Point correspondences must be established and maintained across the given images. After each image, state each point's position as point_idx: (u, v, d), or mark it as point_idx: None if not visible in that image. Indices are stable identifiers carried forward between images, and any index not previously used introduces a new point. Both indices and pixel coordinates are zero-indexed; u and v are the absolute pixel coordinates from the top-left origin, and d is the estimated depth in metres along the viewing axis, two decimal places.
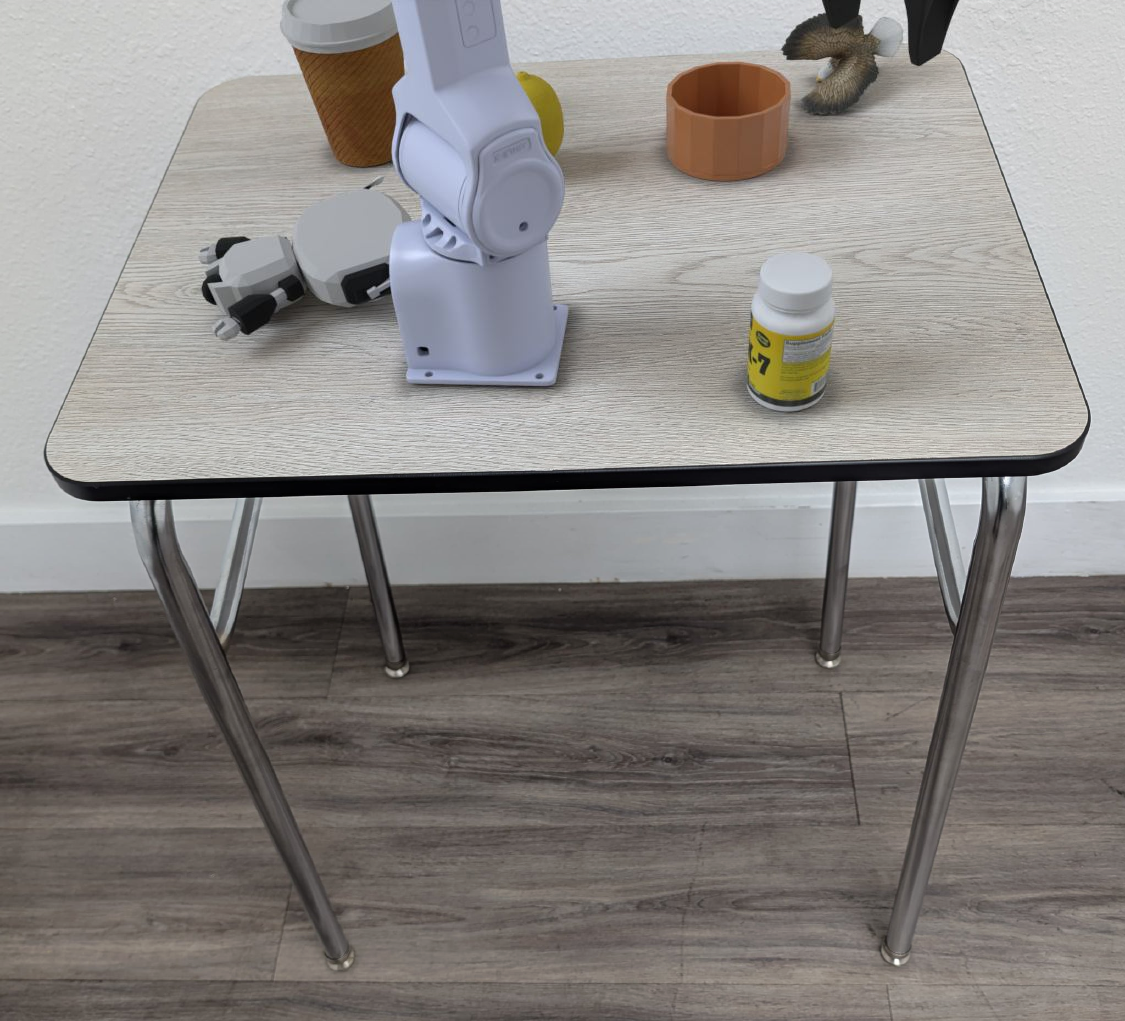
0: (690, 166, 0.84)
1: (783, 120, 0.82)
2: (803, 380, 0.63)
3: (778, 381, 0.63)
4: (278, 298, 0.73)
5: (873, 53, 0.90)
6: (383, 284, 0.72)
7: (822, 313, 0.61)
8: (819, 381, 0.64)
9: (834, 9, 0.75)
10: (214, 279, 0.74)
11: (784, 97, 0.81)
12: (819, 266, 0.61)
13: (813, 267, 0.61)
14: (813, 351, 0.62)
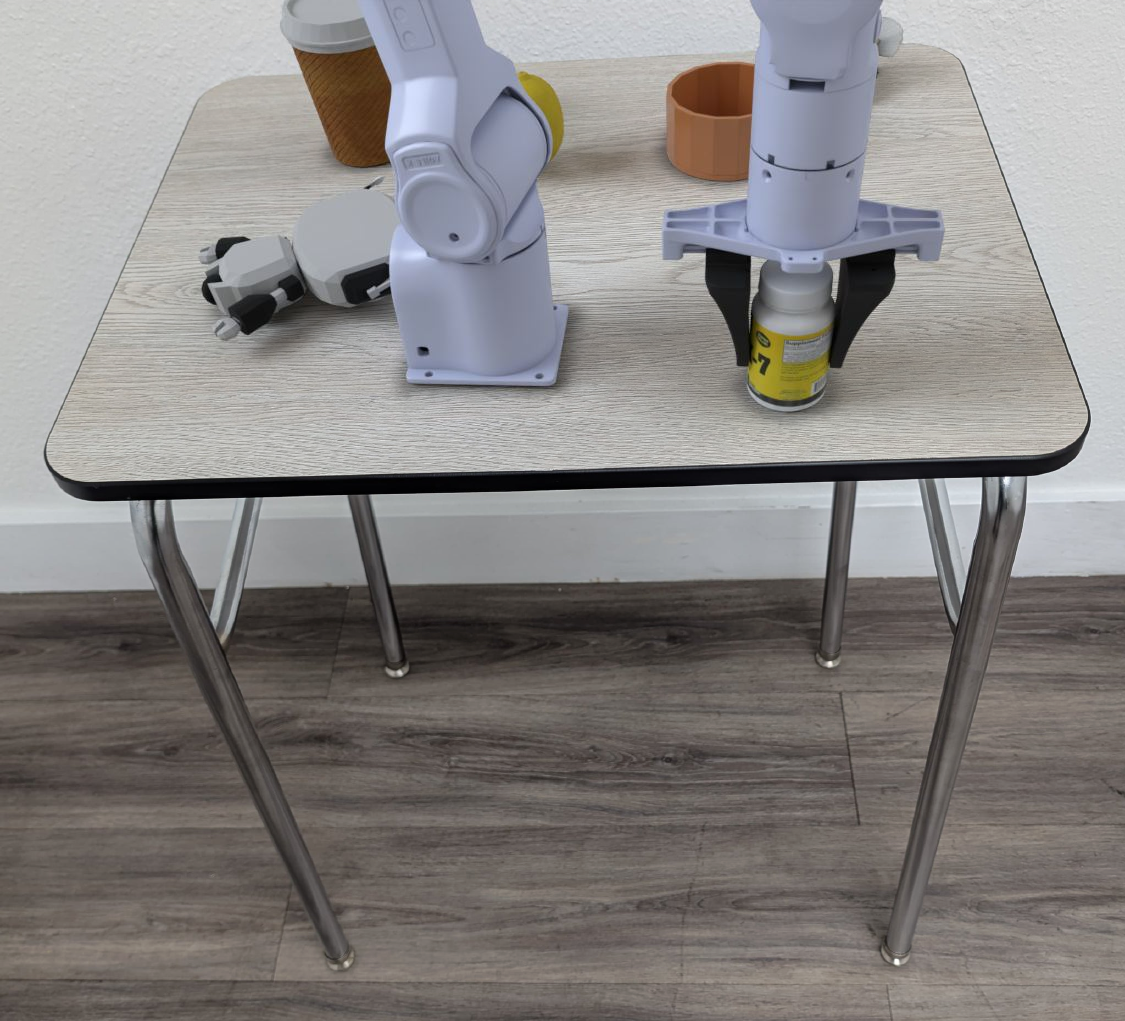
0: (690, 166, 0.84)
1: None
2: (803, 380, 0.63)
3: (778, 381, 0.63)
4: (278, 298, 0.73)
5: None
6: (383, 284, 0.72)
7: (822, 313, 0.61)
8: (820, 381, 0.64)
9: None
10: (214, 279, 0.74)
11: None
12: None
13: None
14: (813, 351, 0.62)
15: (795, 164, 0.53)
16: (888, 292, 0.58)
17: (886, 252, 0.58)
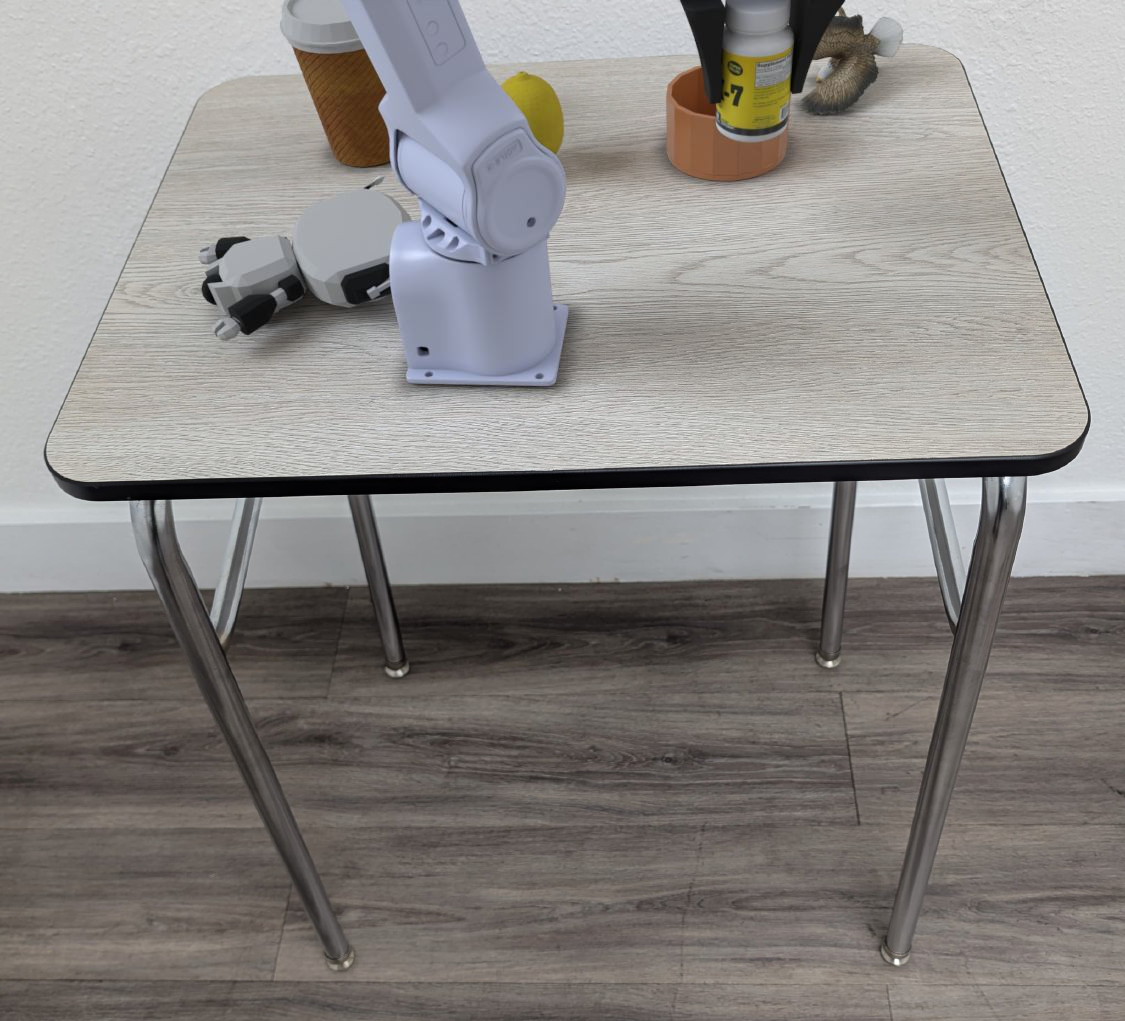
0: (690, 166, 0.84)
1: None
2: (773, 105, 0.70)
3: (751, 109, 0.70)
4: (278, 298, 0.73)
5: (873, 53, 0.90)
6: (383, 284, 0.72)
7: (785, 34, 0.68)
8: (785, 108, 0.71)
9: None
10: (214, 279, 0.74)
11: None
12: None
13: None
14: (780, 73, 0.69)
15: None
16: None
17: None
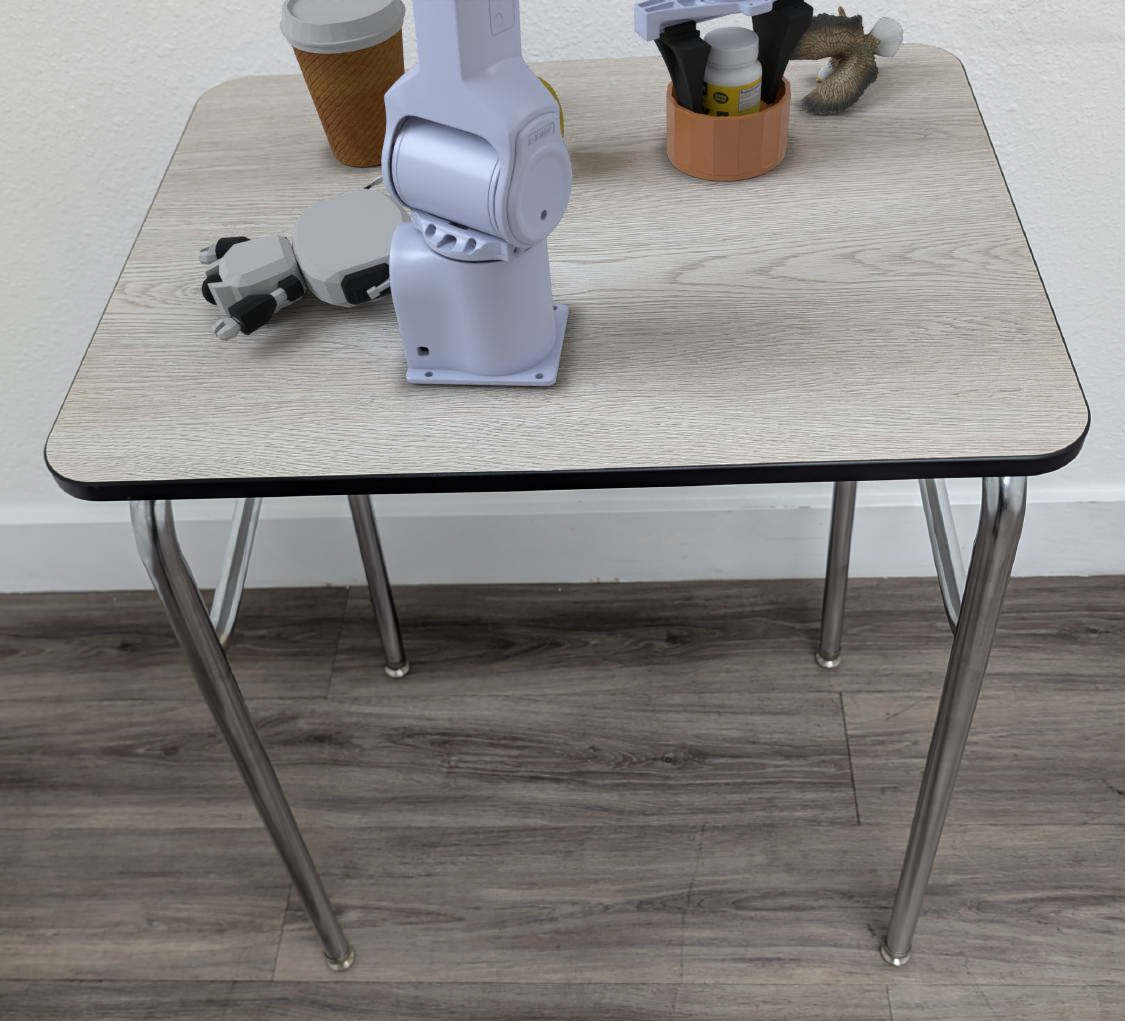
0: (690, 166, 0.84)
1: (783, 120, 0.82)
2: None
3: None
4: (278, 298, 0.73)
5: (873, 53, 0.90)
6: (383, 284, 0.72)
7: (756, 64, 0.81)
8: None
9: None
10: (214, 279, 0.74)
11: (784, 97, 0.81)
12: (742, 31, 0.81)
13: (739, 32, 0.81)
14: (756, 96, 0.82)
15: None
16: (812, 19, 0.79)
17: None
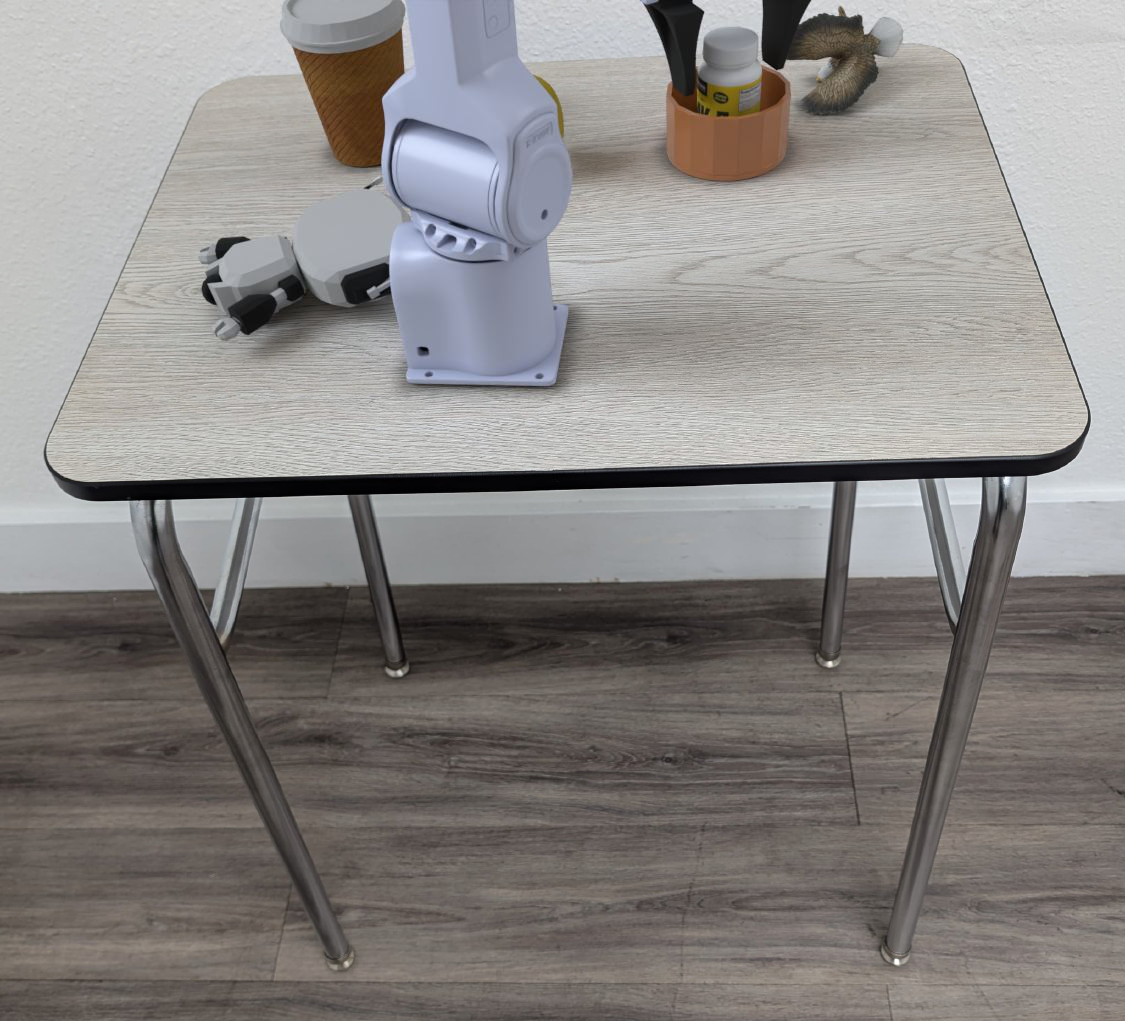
0: (690, 166, 0.84)
1: (783, 120, 0.82)
2: None
3: None
4: (278, 298, 0.73)
5: (873, 53, 0.90)
6: (383, 284, 0.72)
7: (756, 64, 0.81)
8: None
9: (763, 40, 0.83)
10: (214, 279, 0.74)
11: (784, 97, 0.81)
12: (742, 31, 0.81)
13: (739, 32, 0.81)
14: (756, 96, 0.82)
15: None
16: None
17: None
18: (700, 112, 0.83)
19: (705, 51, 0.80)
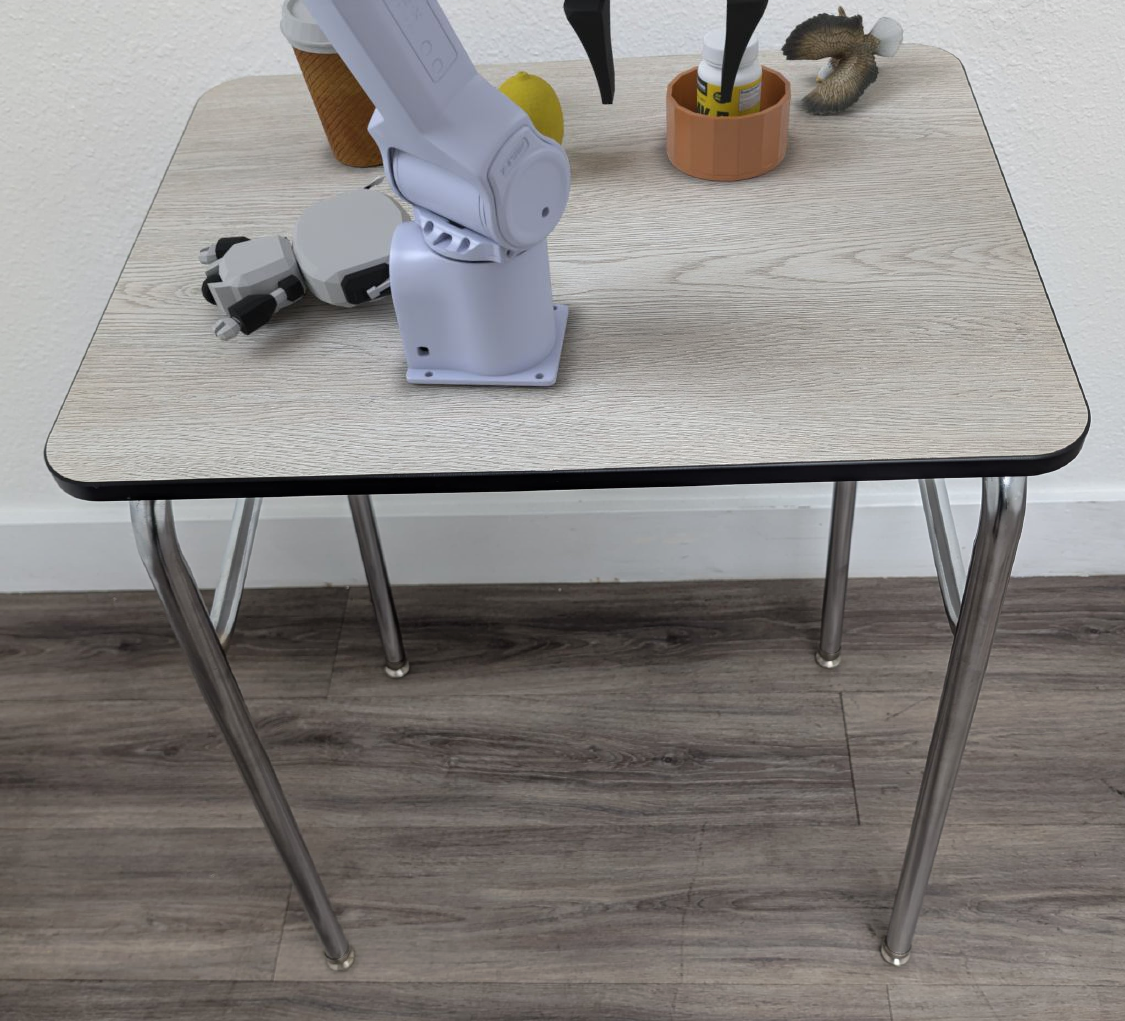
0: (690, 166, 0.84)
1: (783, 120, 0.82)
2: None
3: None
4: (278, 298, 0.73)
5: (873, 53, 0.90)
6: (383, 284, 0.72)
7: (756, 64, 0.81)
8: None
9: (610, 83, 0.71)
10: (214, 279, 0.74)
11: (784, 97, 0.81)
12: None
13: None
14: (756, 96, 0.82)
15: None
16: None
17: None
18: (700, 112, 0.83)
19: (705, 51, 0.80)
